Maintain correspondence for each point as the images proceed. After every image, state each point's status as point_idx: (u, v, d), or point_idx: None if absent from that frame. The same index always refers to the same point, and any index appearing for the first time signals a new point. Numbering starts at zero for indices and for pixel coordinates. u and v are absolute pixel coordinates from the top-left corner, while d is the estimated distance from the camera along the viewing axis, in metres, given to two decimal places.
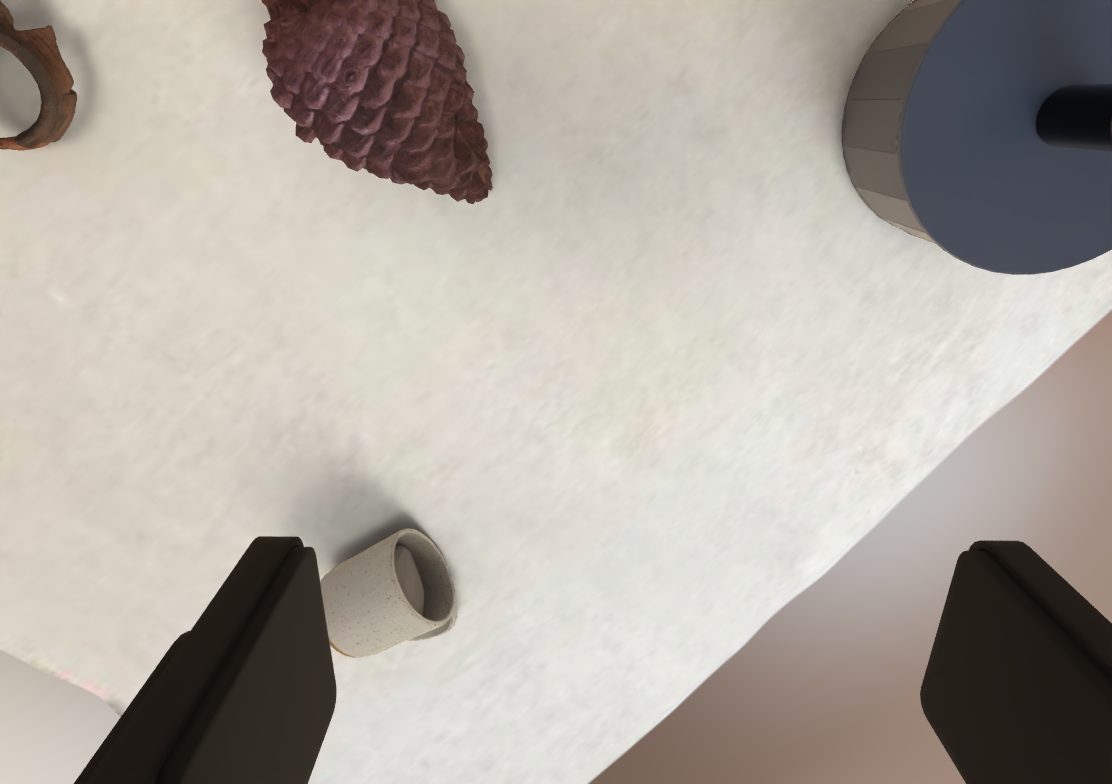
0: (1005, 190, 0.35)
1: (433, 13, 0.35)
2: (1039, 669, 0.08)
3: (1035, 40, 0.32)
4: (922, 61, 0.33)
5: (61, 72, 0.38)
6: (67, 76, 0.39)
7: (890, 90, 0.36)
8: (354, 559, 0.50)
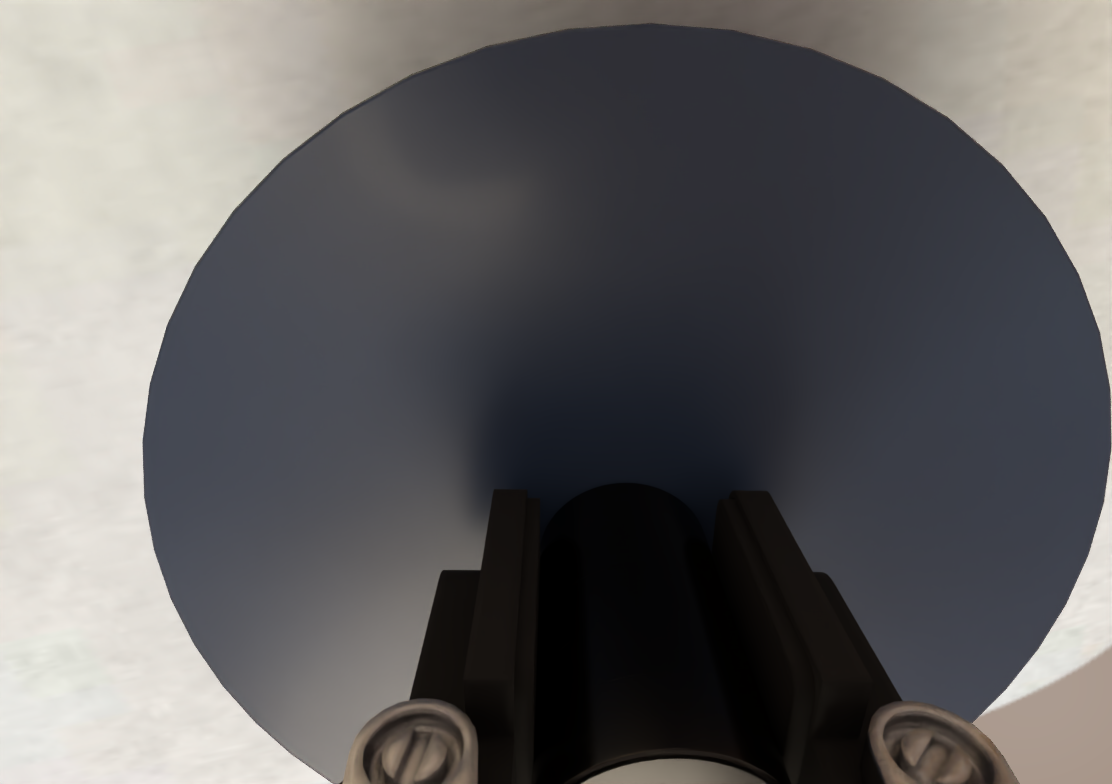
0: (412, 634, 0.12)
1: None
2: (744, 594, 0.09)
3: (630, 322, 0.10)
4: (280, 163, 0.09)
5: None
6: None
7: None
8: None
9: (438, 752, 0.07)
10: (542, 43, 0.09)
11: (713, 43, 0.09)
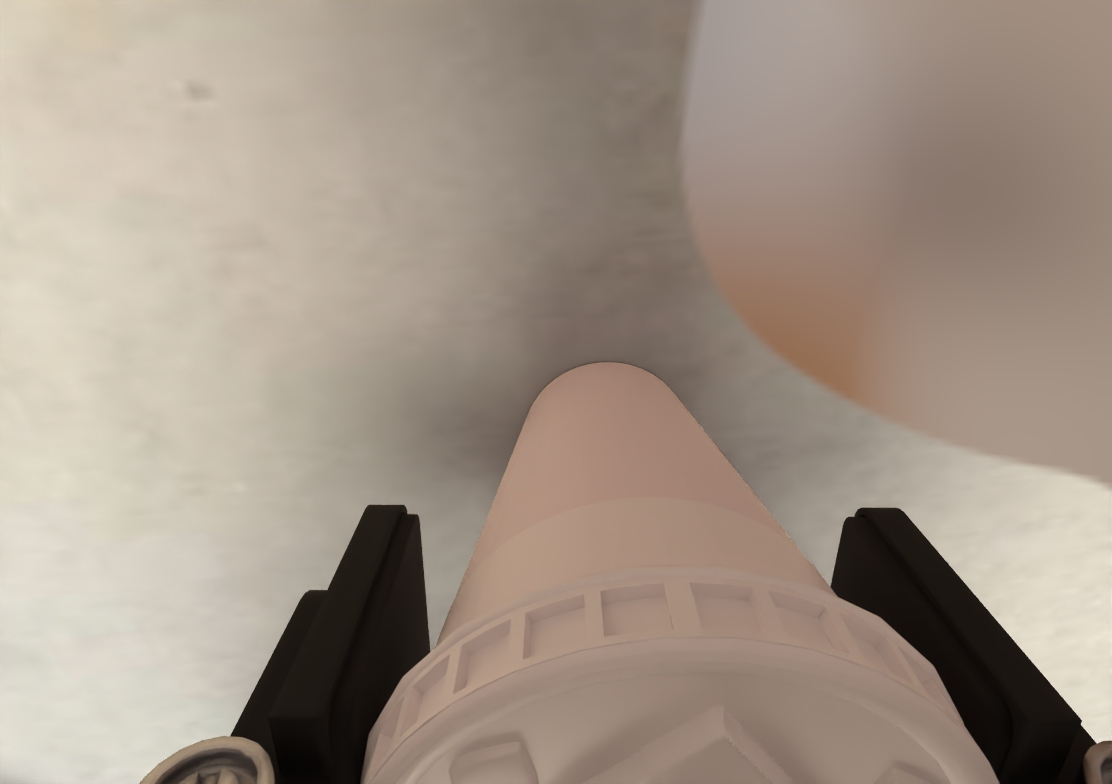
0: None
1: None
2: (896, 619, 0.09)
3: None
4: None
5: None
6: None
7: None
8: None
9: None
10: None
11: None
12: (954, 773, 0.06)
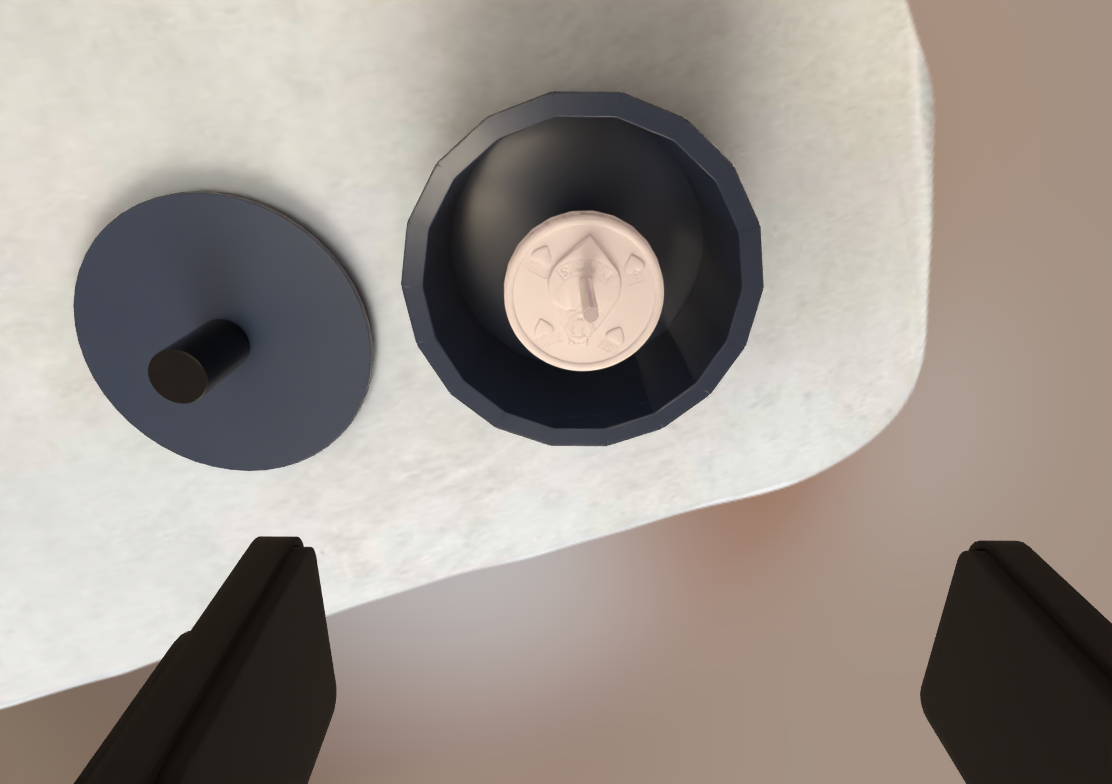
0: None
1: None
2: (1039, 669, 0.08)
3: (209, 269, 0.35)
4: (106, 226, 0.35)
5: None
6: None
7: None
8: None
9: None
10: (169, 197, 0.34)
11: (212, 197, 0.34)
12: (644, 253, 0.26)
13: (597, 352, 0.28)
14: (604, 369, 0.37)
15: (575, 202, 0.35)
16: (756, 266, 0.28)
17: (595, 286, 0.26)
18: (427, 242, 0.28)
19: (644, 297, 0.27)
